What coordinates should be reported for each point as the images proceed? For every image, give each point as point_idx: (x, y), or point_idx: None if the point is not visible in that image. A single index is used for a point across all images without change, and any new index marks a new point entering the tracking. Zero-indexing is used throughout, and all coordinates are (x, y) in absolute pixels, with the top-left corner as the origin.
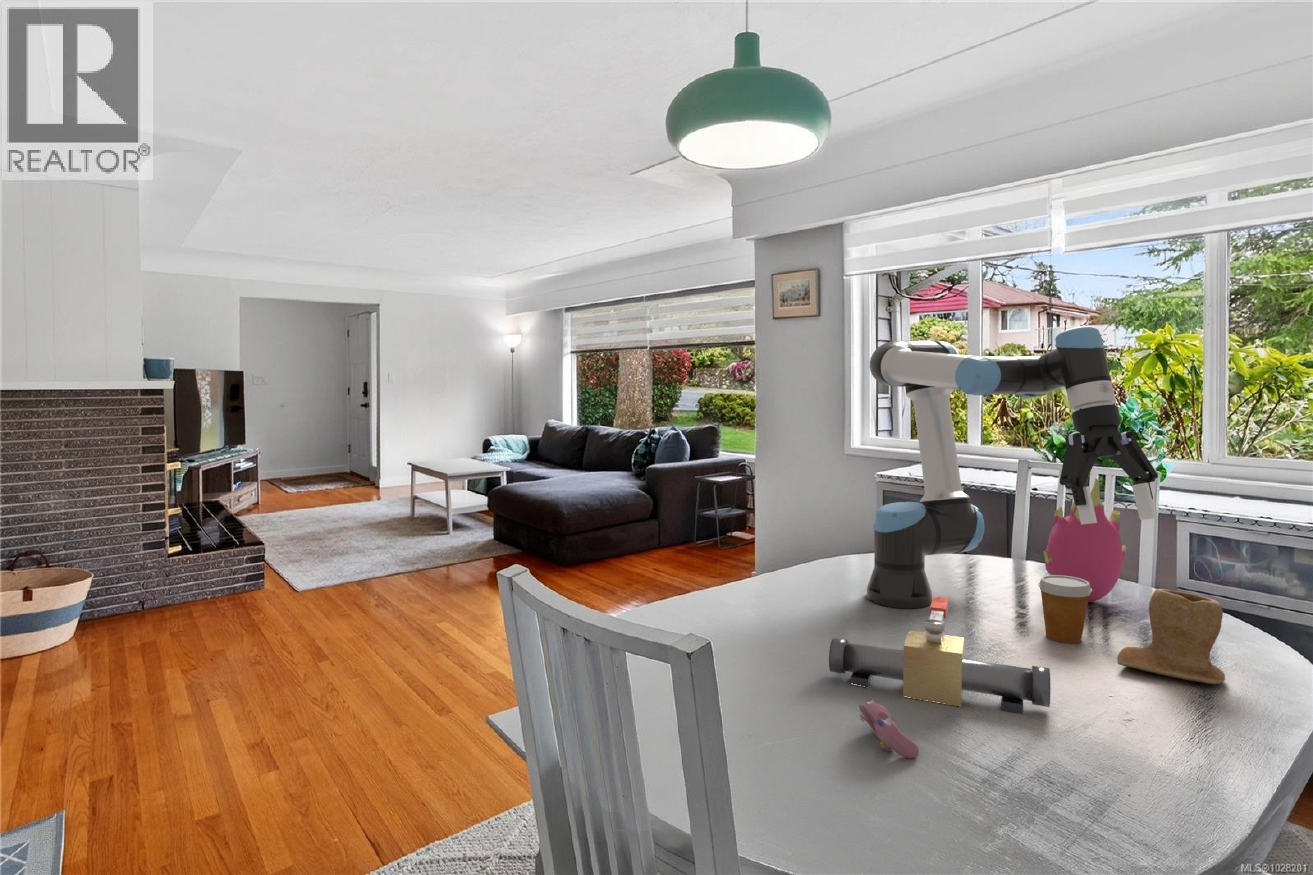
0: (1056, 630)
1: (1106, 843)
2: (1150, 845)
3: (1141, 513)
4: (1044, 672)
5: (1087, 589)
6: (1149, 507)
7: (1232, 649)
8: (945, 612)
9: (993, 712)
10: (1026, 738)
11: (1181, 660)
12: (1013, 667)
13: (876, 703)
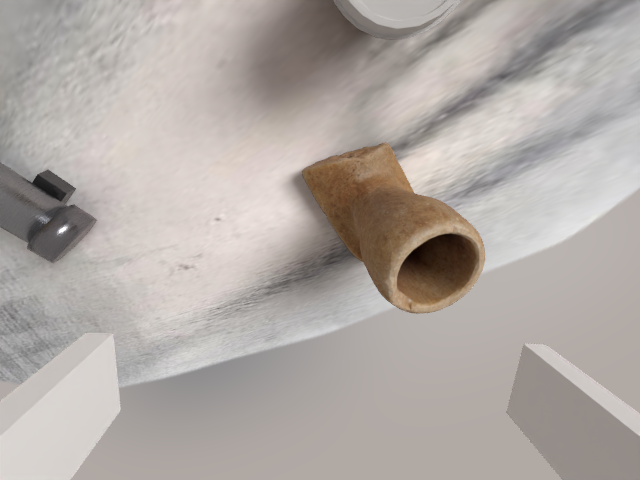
0: None
1: (17, 371)
2: None
3: (544, 384)
4: (44, 256)
5: (410, 31)
6: (554, 460)
7: (564, 172)
8: None
9: None
10: (28, 259)
11: (359, 235)
12: (3, 221)
13: None
